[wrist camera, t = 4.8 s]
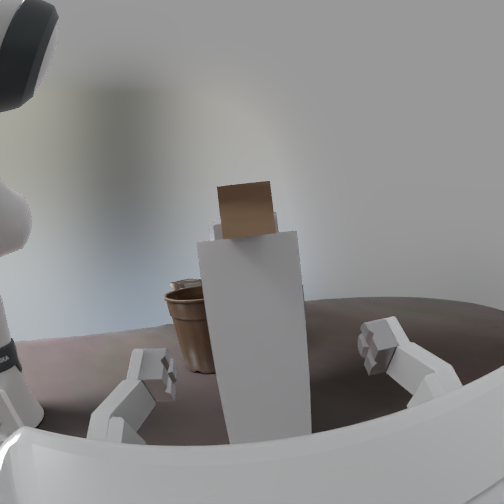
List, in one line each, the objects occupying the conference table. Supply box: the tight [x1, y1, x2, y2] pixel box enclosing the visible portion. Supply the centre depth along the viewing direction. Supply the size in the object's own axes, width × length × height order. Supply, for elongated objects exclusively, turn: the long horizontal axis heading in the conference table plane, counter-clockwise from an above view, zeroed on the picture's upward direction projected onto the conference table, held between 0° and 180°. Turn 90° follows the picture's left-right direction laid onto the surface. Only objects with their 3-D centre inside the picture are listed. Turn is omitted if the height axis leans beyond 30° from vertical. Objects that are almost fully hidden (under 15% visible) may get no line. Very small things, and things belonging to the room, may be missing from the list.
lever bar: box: [217, 181, 276, 239], centre depth 32 cm, size 24×4×4 cm, turn 2°
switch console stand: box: [197, 212, 312, 444], centre depth 38 cm, size 16×10×29 cm
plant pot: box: [164, 285, 216, 374], centre depth 61 cm, size 16×16×16 cm
